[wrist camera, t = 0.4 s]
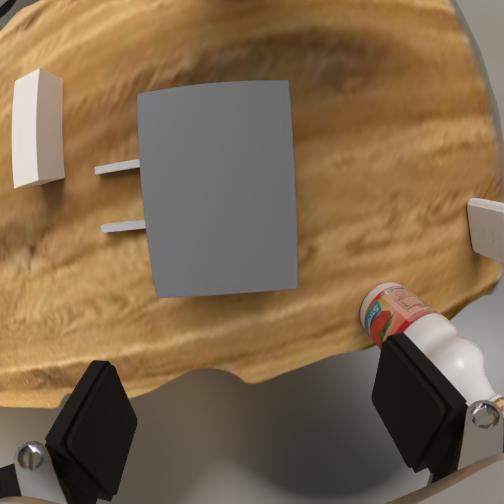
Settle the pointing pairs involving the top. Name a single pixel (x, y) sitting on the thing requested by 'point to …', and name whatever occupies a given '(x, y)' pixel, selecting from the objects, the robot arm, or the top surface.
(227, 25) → the top surface
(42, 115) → the cream rectangular prism
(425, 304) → the fruit juice
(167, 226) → the overhang shelf
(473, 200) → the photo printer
